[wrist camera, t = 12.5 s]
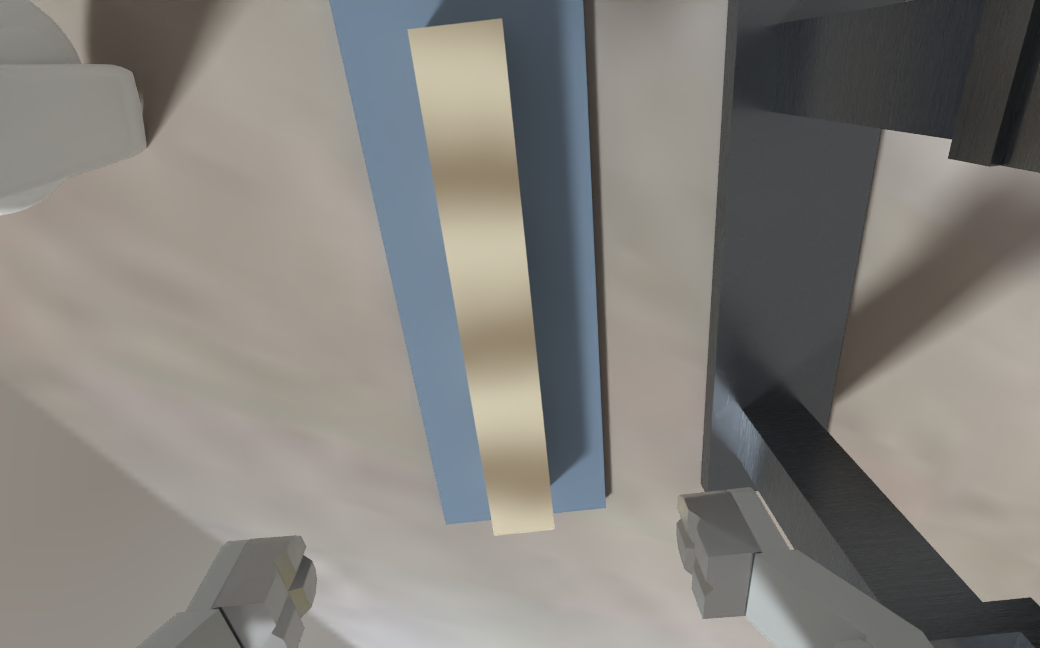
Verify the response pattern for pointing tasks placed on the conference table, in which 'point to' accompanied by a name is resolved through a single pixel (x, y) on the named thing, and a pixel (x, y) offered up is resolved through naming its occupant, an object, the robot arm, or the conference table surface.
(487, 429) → the rail
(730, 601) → the robot arm
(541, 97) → the mat
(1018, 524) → the conference table surface
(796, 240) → the hook rack
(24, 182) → the headset
